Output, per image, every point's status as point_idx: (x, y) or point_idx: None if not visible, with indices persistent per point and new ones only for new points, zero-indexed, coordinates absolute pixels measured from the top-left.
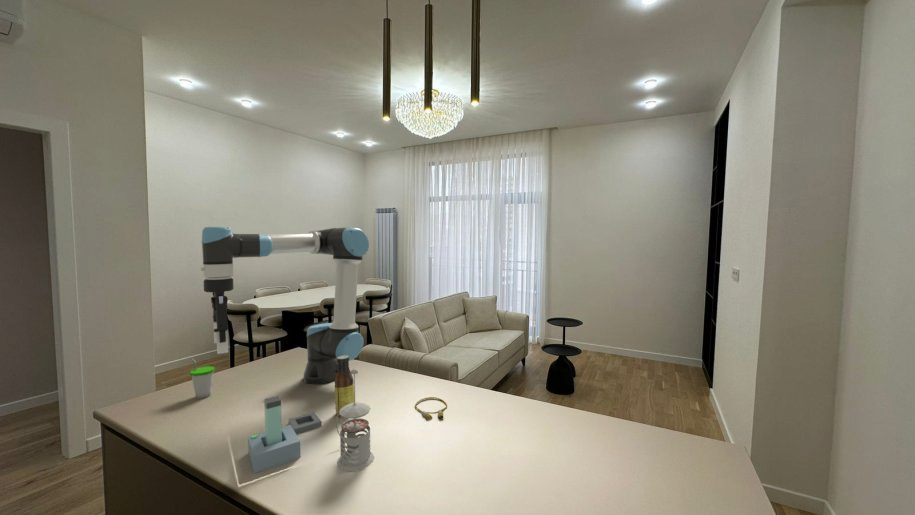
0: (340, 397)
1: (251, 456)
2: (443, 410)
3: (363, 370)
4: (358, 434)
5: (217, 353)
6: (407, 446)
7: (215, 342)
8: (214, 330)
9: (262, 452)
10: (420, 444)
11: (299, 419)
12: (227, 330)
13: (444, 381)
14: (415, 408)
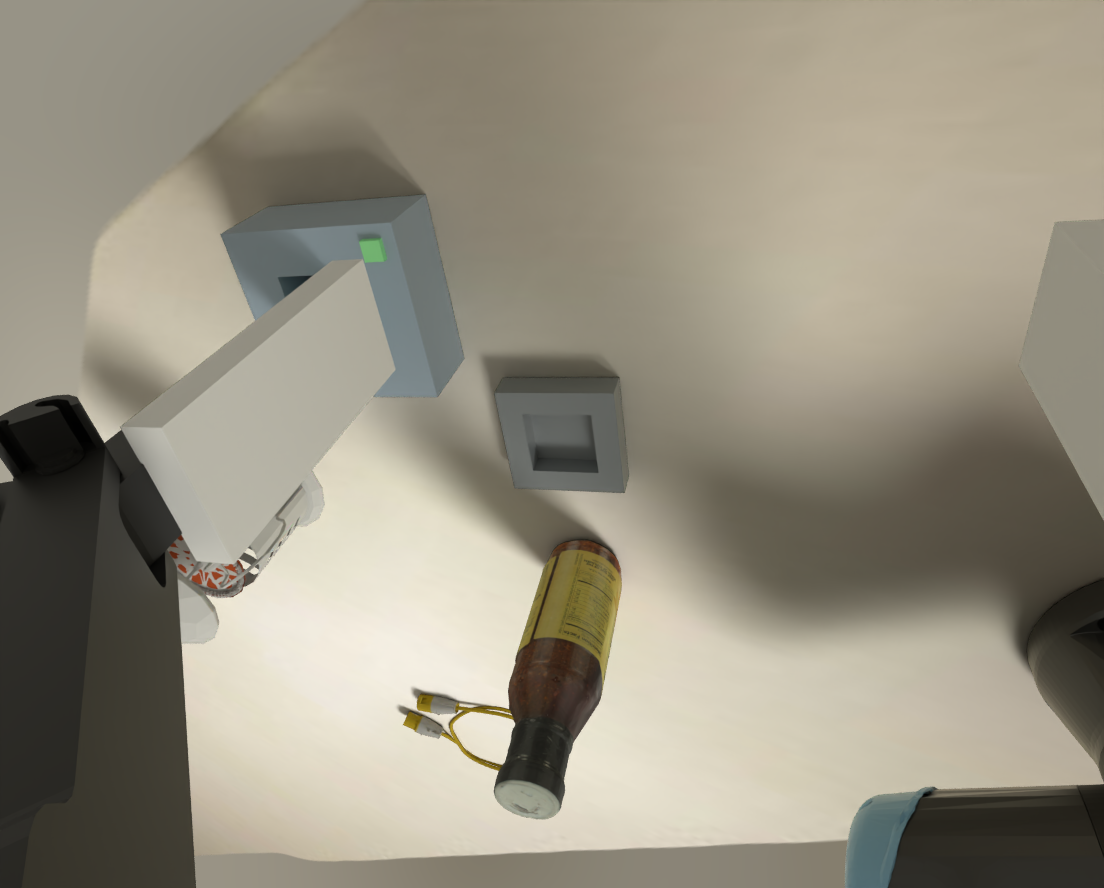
0: (534, 610)
1: (310, 215)
2: (453, 741)
3: (1045, 782)
4: (281, 544)
5: (328, 265)
6: (298, 598)
7: (1052, 245)
8: (2, 420)
9: (237, 266)
10: (297, 621)
11: (594, 428)
12: (199, 556)
13: (658, 846)
14: (504, 710)
